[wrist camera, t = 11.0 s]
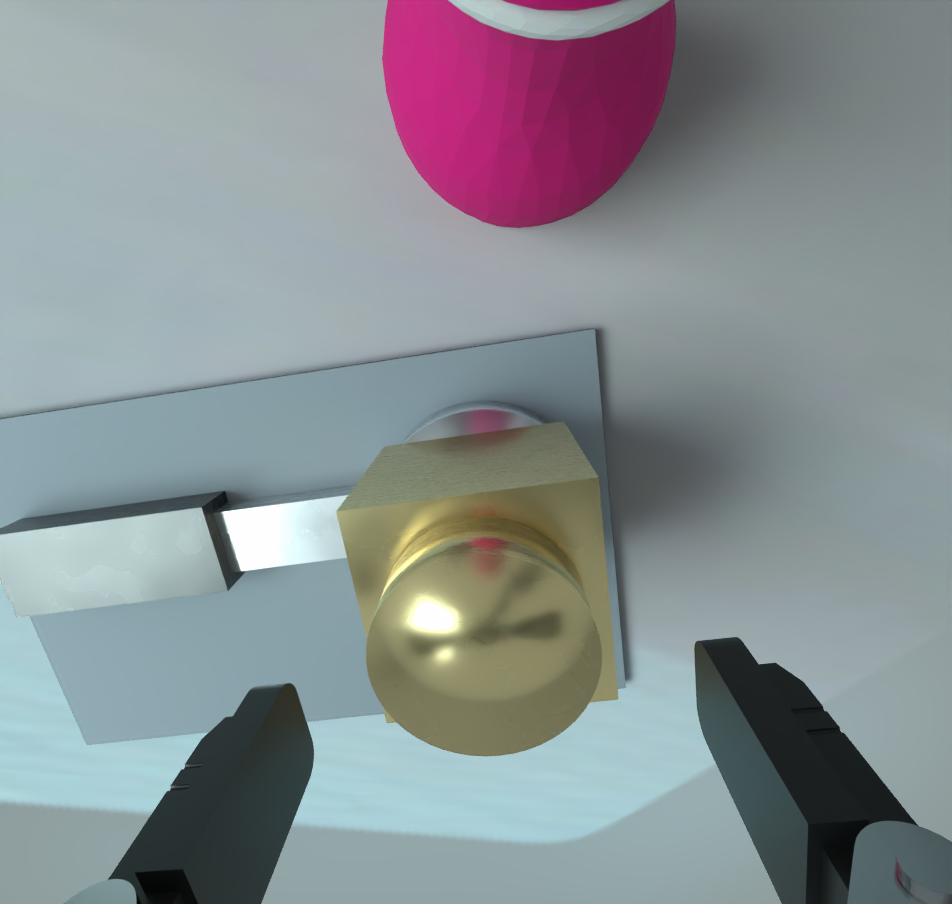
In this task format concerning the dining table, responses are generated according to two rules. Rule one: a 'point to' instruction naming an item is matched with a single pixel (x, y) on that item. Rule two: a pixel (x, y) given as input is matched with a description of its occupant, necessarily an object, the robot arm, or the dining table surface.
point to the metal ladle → (193, 535)
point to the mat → (254, 476)
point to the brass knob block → (483, 587)
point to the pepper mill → (525, 98)
